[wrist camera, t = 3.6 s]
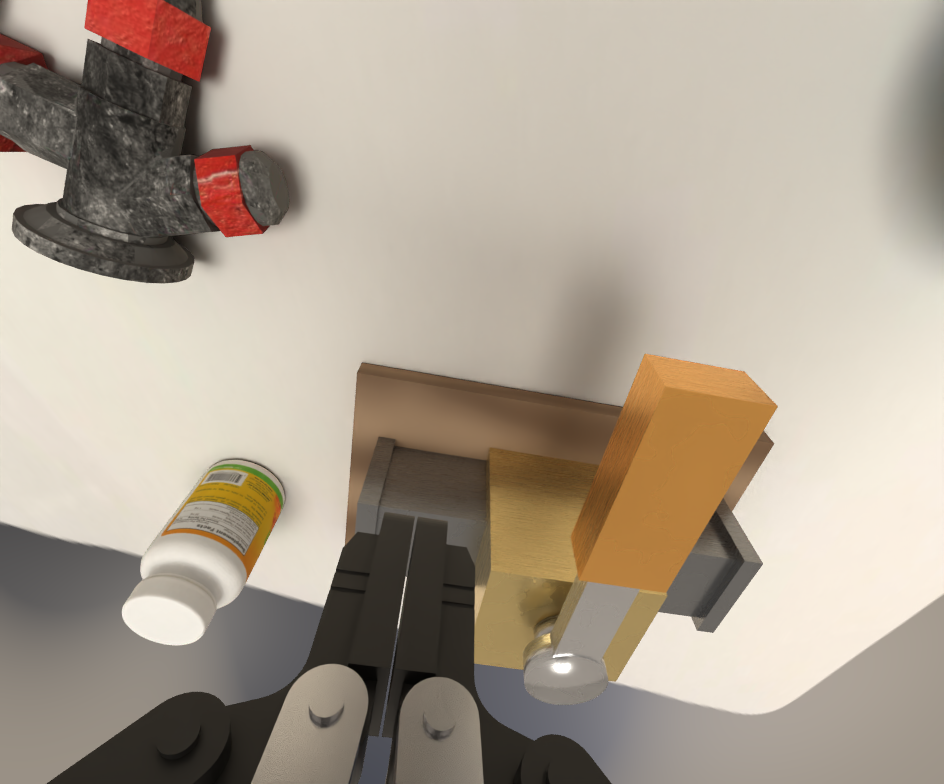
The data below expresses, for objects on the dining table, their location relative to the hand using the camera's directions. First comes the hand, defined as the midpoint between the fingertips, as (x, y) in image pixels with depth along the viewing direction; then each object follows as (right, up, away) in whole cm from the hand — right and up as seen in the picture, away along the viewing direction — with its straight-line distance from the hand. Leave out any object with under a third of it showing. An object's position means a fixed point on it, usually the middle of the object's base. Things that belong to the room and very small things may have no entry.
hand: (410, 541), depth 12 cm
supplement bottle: (-14, -3, +21) cm, 25 cm away
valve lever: (+7, -3, +8) cm, 10 cm away
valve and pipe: (+6, -3, +20) cm, 21 cm away
